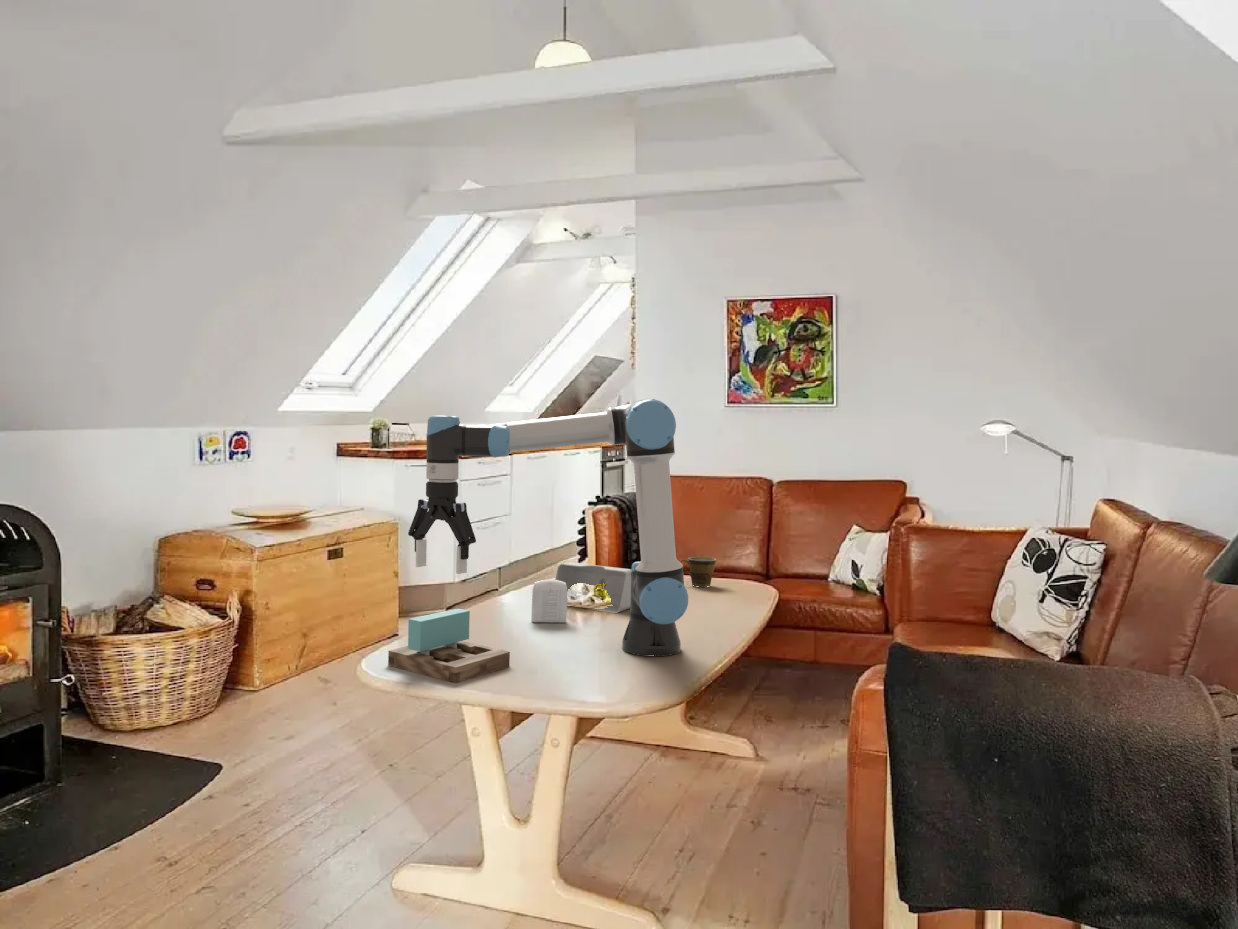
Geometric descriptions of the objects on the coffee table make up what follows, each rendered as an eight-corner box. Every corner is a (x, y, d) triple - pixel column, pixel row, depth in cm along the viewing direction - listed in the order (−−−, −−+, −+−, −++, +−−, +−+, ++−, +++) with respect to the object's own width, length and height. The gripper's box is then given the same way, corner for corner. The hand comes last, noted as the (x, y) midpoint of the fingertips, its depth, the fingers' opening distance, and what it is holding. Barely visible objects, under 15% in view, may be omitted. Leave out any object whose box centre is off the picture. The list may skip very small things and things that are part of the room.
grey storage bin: (642, 605, 293) (643, 566, 292) (619, 614, 279) (620, 573, 278) (575, 596, 305) (576, 559, 304) (550, 604, 291) (551, 565, 290)
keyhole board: (509, 666, 216) (509, 651, 216) (455, 683, 202) (455, 667, 202) (443, 650, 229) (444, 636, 229) (388, 665, 214) (388, 650, 214)
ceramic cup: (715, 584, 334) (716, 557, 333) (714, 589, 324) (715, 561, 323) (680, 582, 335) (681, 555, 335) (678, 587, 325) (679, 559, 325)
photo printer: (566, 620, 268) (567, 578, 267) (567, 623, 263) (568, 581, 263) (531, 620, 266) (532, 578, 266) (531, 623, 262) (532, 581, 261)
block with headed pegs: (468, 658, 223) (469, 610, 222) (419, 671, 210) (420, 621, 209) (456, 655, 225) (457, 608, 224) (407, 668, 212) (408, 619, 211)
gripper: (394, 478, 219) (393, 565, 220) (469, 484, 205) (467, 578, 206) (417, 477, 225) (416, 562, 226) (492, 483, 211) (490, 573, 212)
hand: (440, 569), depth 216 cm, fingers open, 13 cm apart
